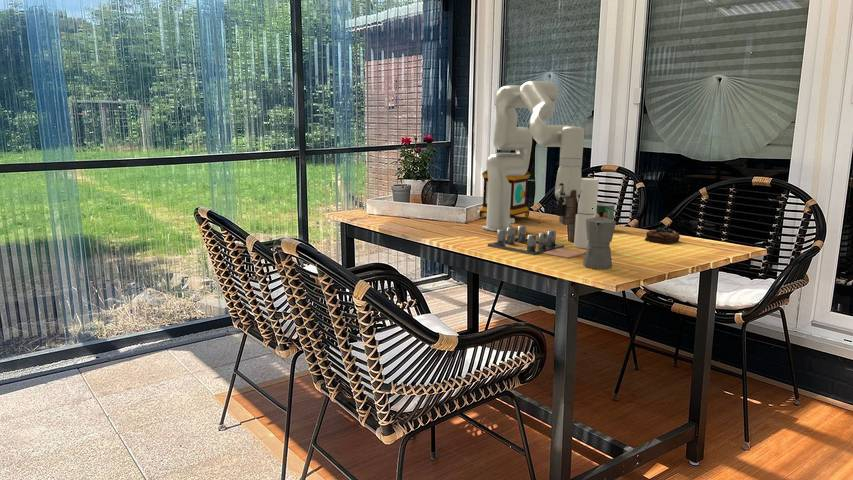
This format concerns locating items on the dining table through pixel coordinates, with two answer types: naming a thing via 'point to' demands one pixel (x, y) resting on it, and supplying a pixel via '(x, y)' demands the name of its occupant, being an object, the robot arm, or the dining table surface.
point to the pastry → (662, 236)
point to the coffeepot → (599, 242)
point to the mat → (564, 253)
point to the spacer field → (543, 242)
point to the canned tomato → (605, 210)
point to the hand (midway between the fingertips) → (567, 214)
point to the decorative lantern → (517, 194)
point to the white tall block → (585, 210)
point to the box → (569, 210)
